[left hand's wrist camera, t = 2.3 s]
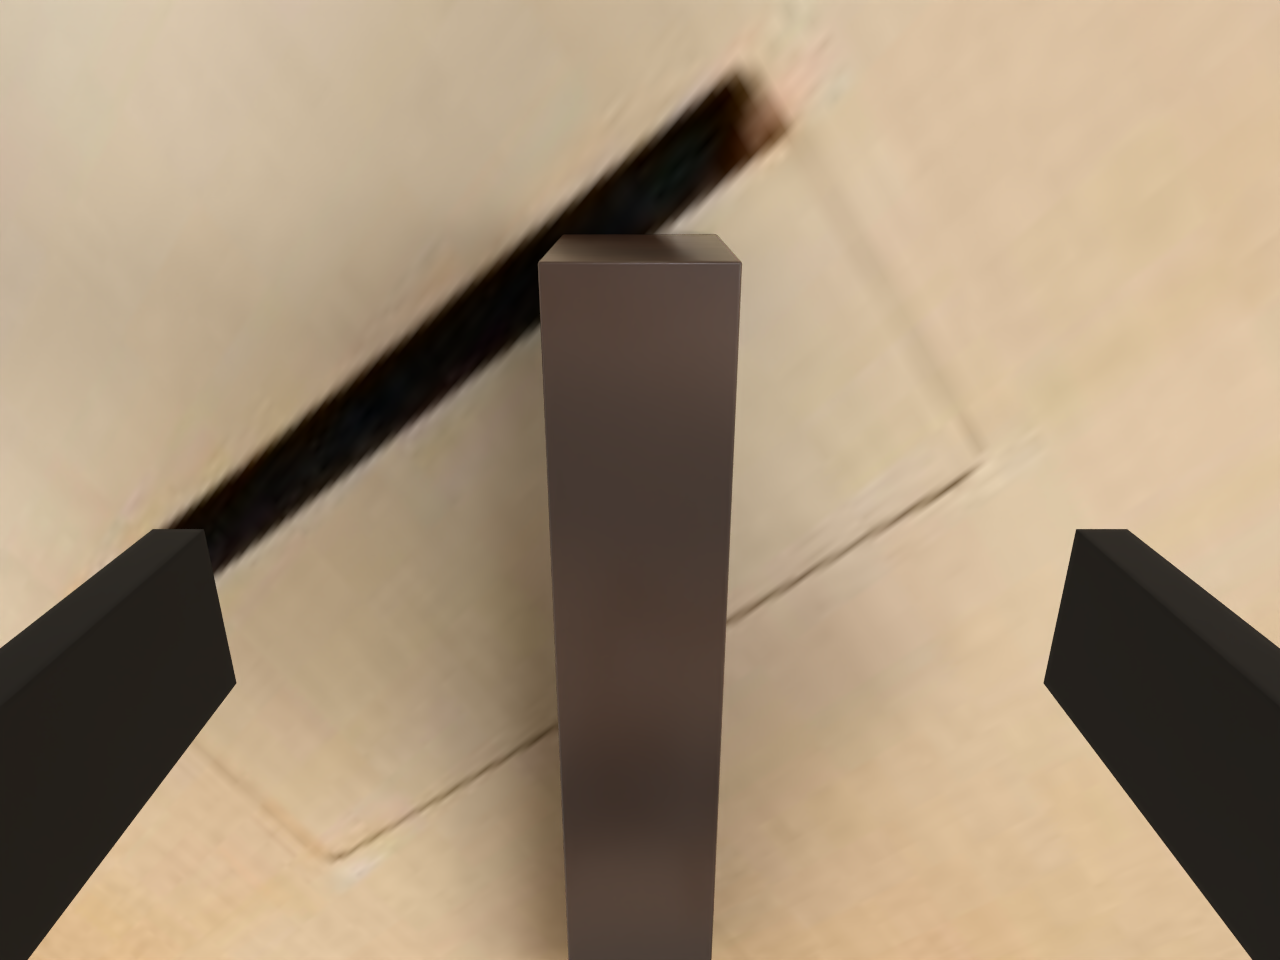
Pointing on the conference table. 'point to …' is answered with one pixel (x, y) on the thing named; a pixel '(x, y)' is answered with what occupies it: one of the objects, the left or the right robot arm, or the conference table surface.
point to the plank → (639, 576)
